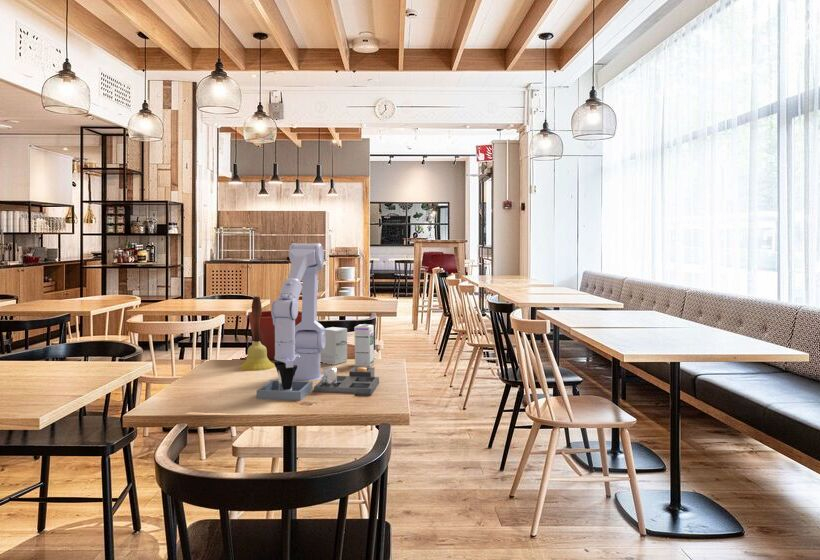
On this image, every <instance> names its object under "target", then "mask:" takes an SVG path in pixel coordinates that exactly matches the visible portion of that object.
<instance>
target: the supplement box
mask: <svg viewBox="0 0 820 560" xmlns="http://www.w3.org/2000/svg"><path fill="white" fill-rule="evenodd" d="M324 328H325V327H324ZM325 336H326V344H325V348H324V349H323V350H322V351H320V362H323V363H322V364H325V363H327V364H326V365H331V364H332V366H336V365H339V364H342V363H347V362H348V328H346V327H338V326H337V327H335V326H331V327H326V328H325ZM346 361H347V362H346Z"/></svg>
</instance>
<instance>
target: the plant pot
mask: <svg viewBox="0 0 820 560" xmlns="http://www.w3.org/2000/svg"><path fill="white" fill-rule="evenodd" d="M247 314H248V321H249V326H250V332H251V335H252V339H253V340H254V320H253V317H252V311H249V312H248V313H247ZM301 321H302V311H299V310H298V315H297V318H296V319H295V326H296V325H298V324H299V323H300V322H301ZM302 331H306V330H302ZM260 342H261V344H262V345H264V346H265V347H266V349H267V358H268V359H269V360H270V361H272V360H275V359H274V356H275V325H273V318H272V314H271V310H262V314H261V318H260ZM295 351H296V350H295Z"/></svg>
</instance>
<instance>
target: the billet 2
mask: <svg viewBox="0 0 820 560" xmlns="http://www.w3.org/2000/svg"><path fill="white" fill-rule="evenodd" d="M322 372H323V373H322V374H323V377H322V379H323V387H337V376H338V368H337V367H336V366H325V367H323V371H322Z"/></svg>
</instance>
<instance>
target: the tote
mask: <svg viewBox="0 0 820 560" xmlns="http://www.w3.org/2000/svg"><path fill="white" fill-rule="evenodd" d="M313 381H314V380H293V391H279V387H278V379H270V381H268V382H267V383H266V384H264V385H262V386H261V387H260V388H258V389H257V390H256V400H267V401H268V400H269V401H270V400H271V401H272V400H273V401H274V400H276V401H298V402H299V401H300V402H301V401H302V400H304V398H305V397H306V396H308V395H309V393H310V392H311V391H313V390H314V387H313V384H314V383H313Z"/></svg>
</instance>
